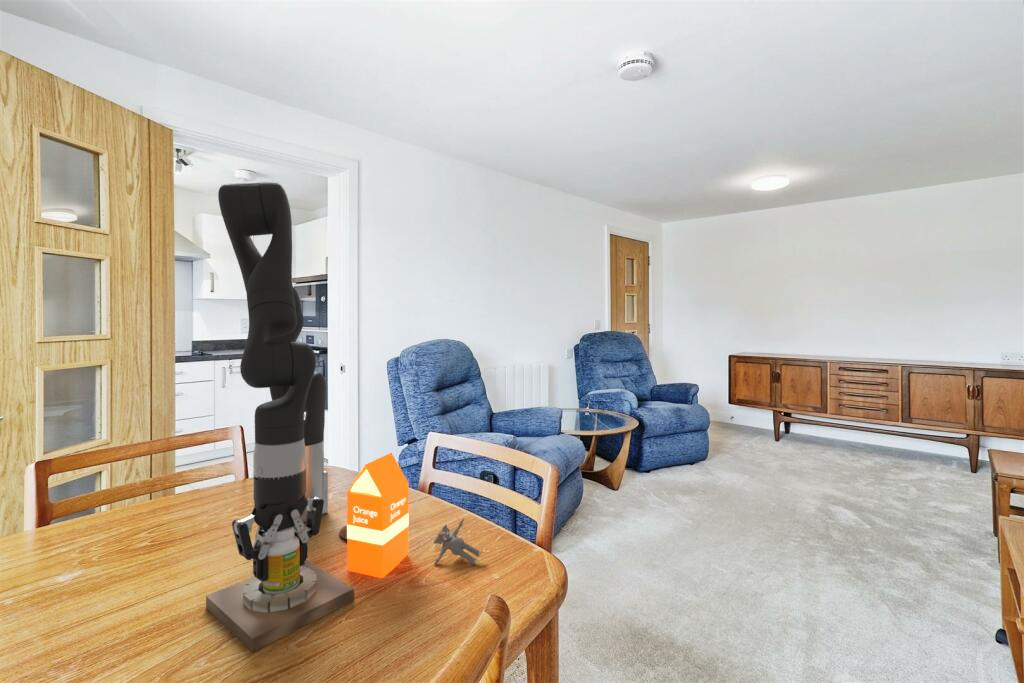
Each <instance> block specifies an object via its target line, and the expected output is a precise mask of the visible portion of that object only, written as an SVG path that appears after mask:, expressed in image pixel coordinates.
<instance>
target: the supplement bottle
mask: <svg viewBox="0 0 1024 683" xmlns="http://www.w3.org/2000/svg"><path fill="white" fill-rule="evenodd" d="M294 534H295V526H293V527H290V528H287V529H284V530H281V531H278V532H276V535H275V538H274V540H273V543H272V544H270V546H269V549H268V552H267V554H266V557H267V558H268V580H266V581H264V582H263V591H264V592H265V593H267V594H270V595H276V594H282V593H287V592H289V591H291V590H293V589H295V588H296V587H297V586H298V585H299V582H300V543H299V539H298V538H297V537H296V536H294Z"/></svg>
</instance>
